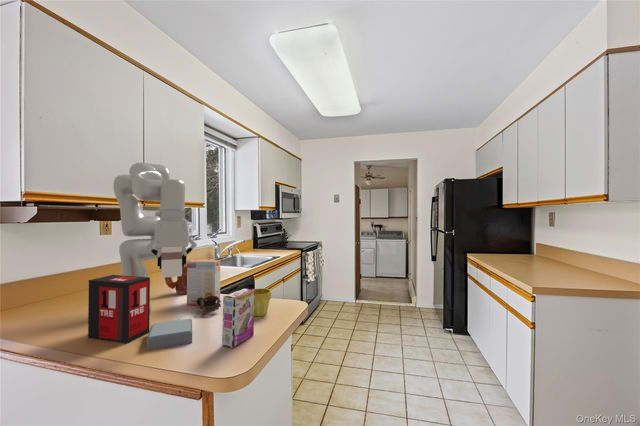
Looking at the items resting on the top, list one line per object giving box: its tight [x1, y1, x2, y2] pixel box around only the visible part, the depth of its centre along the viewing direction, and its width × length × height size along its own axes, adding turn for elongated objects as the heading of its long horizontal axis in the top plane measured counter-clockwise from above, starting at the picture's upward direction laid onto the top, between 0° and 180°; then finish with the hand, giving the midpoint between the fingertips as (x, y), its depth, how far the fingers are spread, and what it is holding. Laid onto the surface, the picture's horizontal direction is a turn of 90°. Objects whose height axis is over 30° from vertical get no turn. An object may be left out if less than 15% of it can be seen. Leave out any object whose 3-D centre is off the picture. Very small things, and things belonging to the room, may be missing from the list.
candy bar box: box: [221, 288, 255, 349], centre depth 97 cm, size 11×5×16 cm, turn 157°
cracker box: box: [186, 259, 221, 306], centre depth 135 cm, size 14×6×21 cm, turn 84°
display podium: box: [146, 318, 193, 351], centre depth 98 cm, size 13×13×4 cm
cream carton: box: [160, 246, 183, 279], centre depth 98 cm, size 6×7×10 cm
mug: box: [164, 265, 187, 295], centre depth 151 cm, size 15×8×15 cm, turn 144°
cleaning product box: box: [87, 274, 151, 344], centre depth 100 cm, size 16×9×20 cm, turn 77°
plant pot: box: [251, 287, 272, 317], centre depth 123 cm, size 10×10×10 cm
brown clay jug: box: [196, 295, 222, 316], centre depth 124 cm, size 12×10×8 cm
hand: (172, 267), depth 98 cm, fingers closed on cream carton, 6 cm apart
